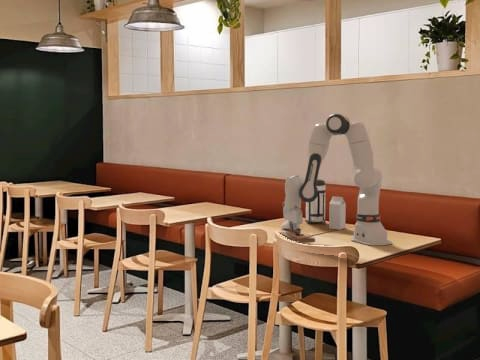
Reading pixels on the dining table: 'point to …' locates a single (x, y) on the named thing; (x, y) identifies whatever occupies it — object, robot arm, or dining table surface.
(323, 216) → the coffee press
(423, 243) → the dining table surface
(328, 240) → the dining table surface
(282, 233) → the mount board
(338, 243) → the dining table surface
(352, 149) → the robot arm
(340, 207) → the milk carton
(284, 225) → the flower in vase
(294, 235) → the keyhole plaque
